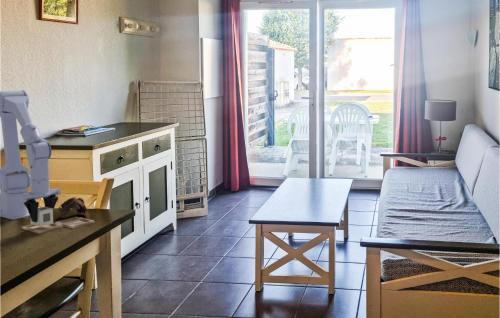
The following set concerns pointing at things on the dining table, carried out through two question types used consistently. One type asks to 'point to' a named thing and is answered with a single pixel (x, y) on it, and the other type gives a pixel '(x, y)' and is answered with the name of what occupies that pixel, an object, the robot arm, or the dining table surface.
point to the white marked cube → (44, 216)
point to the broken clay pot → (73, 207)
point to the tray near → (41, 228)
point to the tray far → (75, 222)
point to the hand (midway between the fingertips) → (41, 219)
